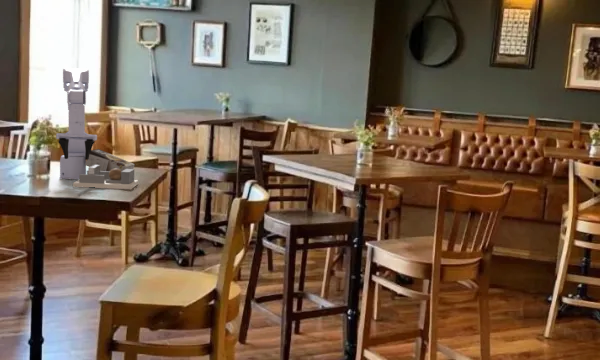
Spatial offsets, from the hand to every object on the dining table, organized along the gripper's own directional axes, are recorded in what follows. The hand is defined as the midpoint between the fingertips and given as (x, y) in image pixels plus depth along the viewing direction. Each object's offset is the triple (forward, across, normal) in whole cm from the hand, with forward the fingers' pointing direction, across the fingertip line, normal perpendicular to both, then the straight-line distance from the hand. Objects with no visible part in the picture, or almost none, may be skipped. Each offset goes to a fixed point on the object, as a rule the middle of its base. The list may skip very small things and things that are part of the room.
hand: (76, 159), depth 282 cm
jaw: (+6, +7, 0) cm, 9 cm away
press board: (+9, +11, 0) cm, 15 cm away
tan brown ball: (+5, +15, 0) cm, 16 cm away
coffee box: (+6, +16, +14) cm, 22 cm away
